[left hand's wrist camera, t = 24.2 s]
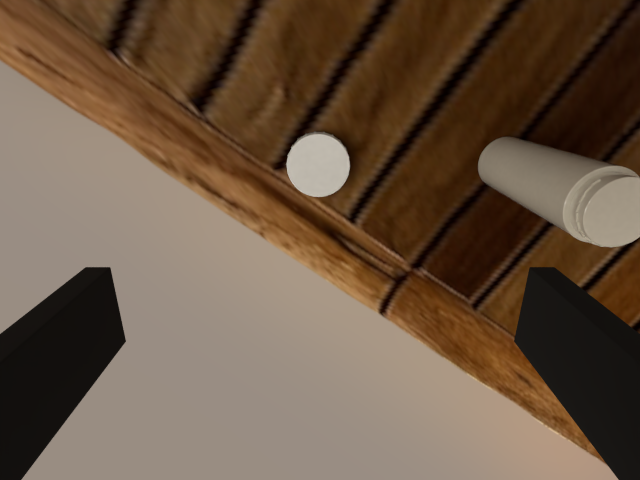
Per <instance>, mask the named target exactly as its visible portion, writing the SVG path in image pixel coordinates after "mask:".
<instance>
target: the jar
mask: <svg viewBox="0 0 640 480" xmlns="http://www.w3.org/2000/svg"><path fill="white" fill-rule="evenodd" d="M478 172H479V175H480V177H481V179H482V181H483V182H484V183H485V184H487V185H488V186H490V187H491V188H493V189H495V190H496V191H498V192H500V193H501V194H503V195H505V196H506V197H508V198H510V199H511V200H513V201H515V202H516V203H518V204H520V205H521V206H523V207H525V208H526V209H528V210H530V211H531V212H533V213H535V214H536V215H538V216H540V217H541V218H543V219H545V220H546V221H548V222H550V223H551V224H553V225H555V226H556V227H558V228H560V229H561V230H563V231H565V232H566V233H568V234H570V235H571V236H573V237H575V238H576V239H578V240H581V241H584V242H589V243H592V244H595V245H598V246H600V247H617V246H622V245H625V244H628V243H630V242H633V241H634V240H636V239H637V238H639V237H640V177H639V176H638V175H637V174H636V173H635V172H634V171H632V170H630V169H628V168H626V167H622V166H618V165H615V164H611V163H607V162H604V161H600V160H596V159H593V158H589V157H585V156H582V155H578V154H574V153H571V152H567V151H563V150H560V149H556V148H552V147H549V146H545V145H541V144H538V143H534V142H530V141H526V140H523V139H519V138H515V137H502V138H499V139H496V140H495V141H493V142H491V143H490V144H489V145H488V146H487V147H486V148H485V149H484V151H483V152H482V154H481V156H480V158H479V162H478Z"/></svg>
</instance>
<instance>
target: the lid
mask: <svg viewBox="0 0 640 480" xmlns="http://www.w3.org/2000/svg"><path fill="white" fill-rule="evenodd" d="M349 158H350V157H349V155H348V153H347V151H346V147H344V145H343V144H342V143H341V140H338V139H337V138H336V137H334V136H333V134H332V135H331V134H328V133H325V132H324V131H323V132H316V131H314V132H313V133H309V134H307V133H306V134H305V135H304V136H302V137H301V138H300V139H299V138H298V140H297V141H296V143H295V144H294V145H292V147H291V151H290V153H288V159H287V164H286V165H287V171H288V175H289V178H290V180H291V182H292V183H293V185H294V186H295V187H296V188H297V189H298V190H299V191H301V192H302V193H304V194H306V195H309V196H314V197H323V196H328V195H331V194H333V193H334V192H336V191H337V190H339V189H340V188H341V187H342V186H343V184H344V183H345V182H346V180H347V178H348V176H349V170H350V161H349Z"/></svg>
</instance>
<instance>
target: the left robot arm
mask: <svg viewBox="0 0 640 480" xmlns="http://www.w3.org/2000/svg"><path fill="white" fill-rule="evenodd" d="M125 342H126V340H125V335H124V330H123V326H122V321H121V316H120V311H119V307H118V302H117V297H116V292H115V288H114V283H113V278H112V274H111V269H110V267H86V268H84V269H83V270H82V271H80V272H79V273H78V274H77V275H75V276H74V277H73V278H71V279H70V280H69V281H68V282H66V283H65V284H64V285H63V286H61V287H60V288H59V289H57V290H56V291H55V292H54V293H52V294H51V295H50V296H48V297H47V298H46V299H45V300H43V301H42V302H41V303H40V304H38V305H37V306H36V307H34V308H33V309H32V310H31V311H29V312H28V313H27V314H25V315H24V316H23V317H22V318H20V319H19V320H18V321H16V322H15V323H14V324H13V325H11V326H10V327H9V328H7V329H6V330H5V331H4V332H2V333H1V334H0V480H21V479H22V478H23V477H24V475H25V474H26V473H27V471H28V470H29V469H30V467H31V466H32V465H33V463H34V462H35V461H36V459H37V458H38V457H39V456H40V454H41V453H42V452H43V450H44V449H45V448H46V446H47V445H48V444H49V442H50V441H51V440H52V438H53V437H54V436H55V434H56V433H57V432H58V430H59V429H60V428H61V426H62V425H63V424H64V422H65V421H66V420H67V418H68V417H69V416H70V414H71V413H72V412H73V410H74V409H75V408H76V407H77V405H78V404H79V403H80V401H81V400H82V399H83V397H84V396H85V395H86V393H87V392H88V391H89V389H90V388H91V387H92V385H93V384H94V383H95V381H96V380H97V379H98V377H99V376H100V375H101V373H102V372H103V371H104V369H105V368H106V367H107V366H108V364H109V363H110V362H111V360H112V359H113V358H114V356H115V355H116V354H117V352H118V351H119V350H120V348H121V347H122V346H123V344H124V343H125ZM514 342H515V343H516V344H517V346H518V347H519V348H520V350H521V351H522V352H523V354H524V355H525V356H526V358H527V359H528V360H529V362H530V363H531V364H532V366H533V367H534V368H535V370H536V371H537V372H538V373H539V375H540V376H541V377H542V379H543V380H544V381H545V383H546V384H547V385H548V387H549V388H550V389H551V391H552V392H553V393H554V395H555V396H556V397H557V399H558V400H559V401H560V403H561V404H562V405H563V407H564V408H565V409H566V411H567V412H568V413H569V415H570V416H571V417H572V418H573V420H574V421H575V422H576V424H577V425H578V426H579V428H580V429H581V430H582V432H583V433H584V434H585V436H586V437H587V438H588V440H589V441H590V442H591V444H592V445H593V446H594V448H595V449H596V450H597V452H598V453H599V454H600V456H601V457H602V458H603V459H604V461H605V462H606V463H607V465H608V466H609V467H610V469H611V470H612V471H613V473H614V474H615V475H616V477H617V478H618V479H619V480H640V334H639V333H638V332H636V331H635V330H634V329H633V328H631V327H630V326H629V325H627V324H626V323H625V322H624V321H622V320H621V319H620V318H618V317H617V316H616V315H615V314H613V313H612V312H611V311H610V310H608V309H607V308H606V307H604V306H603V305H602V304H601V303H599V302H598V301H597V300H595V299H594V298H593V297H592V296H590V295H589V294H588V293H586V292H585V291H584V290H583V289H581V288H580V287H579V286H578V285H576V284H575V283H574V282H572V281H571V280H570V279H569V278H567V277H566V276H565V275H563V274H562V273H561V272H560V271H558V270H557V269H556V268H554V267H530V269H529V274H528V278H527V283H526V288H525V292H524V297H523V302H522V307H521V311H520V316H519V321H518V326H517V330H516V335H515V340H514Z"/></svg>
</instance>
